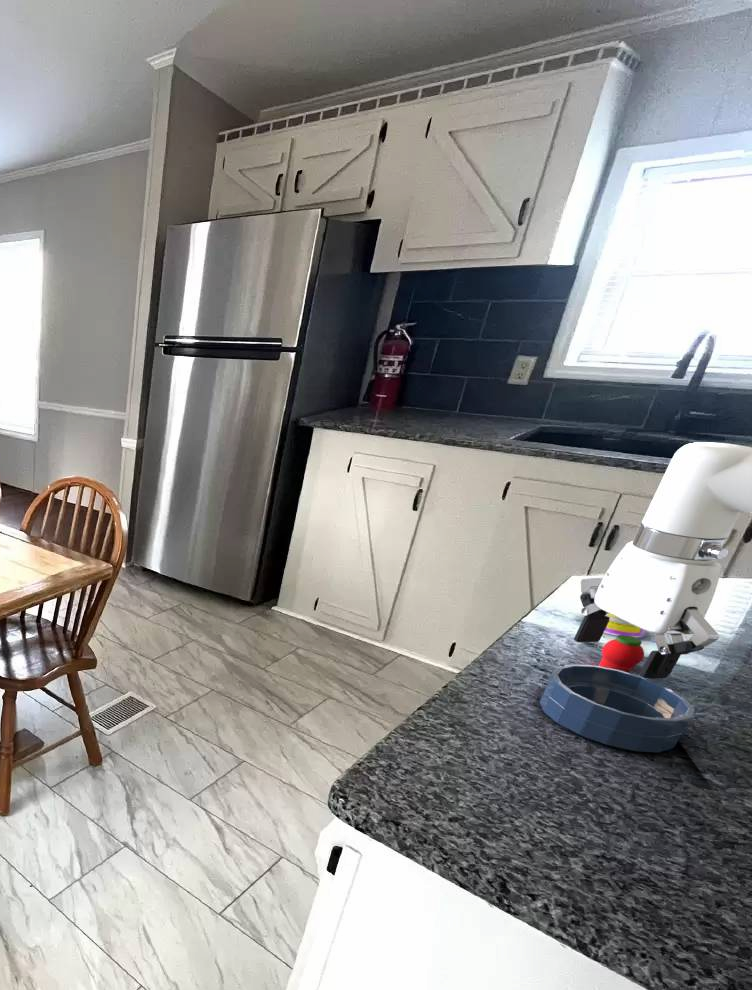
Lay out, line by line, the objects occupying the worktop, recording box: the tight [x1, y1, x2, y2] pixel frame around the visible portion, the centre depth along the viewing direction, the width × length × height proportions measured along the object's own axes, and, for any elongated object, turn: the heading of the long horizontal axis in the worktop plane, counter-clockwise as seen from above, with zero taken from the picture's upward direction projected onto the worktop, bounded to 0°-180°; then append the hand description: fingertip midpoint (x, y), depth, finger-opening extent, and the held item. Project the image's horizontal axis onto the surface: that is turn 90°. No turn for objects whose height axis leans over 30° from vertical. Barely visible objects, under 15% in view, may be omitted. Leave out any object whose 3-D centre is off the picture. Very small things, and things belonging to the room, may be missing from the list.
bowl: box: [539, 663, 695, 753], centre depth 76 cm, size 12×12×5 cm
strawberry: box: [598, 635, 645, 673], centre depth 87 cm, size 4×4×5 cm
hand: (617, 658), depth 88 cm, fingers open, 9 cm apart
